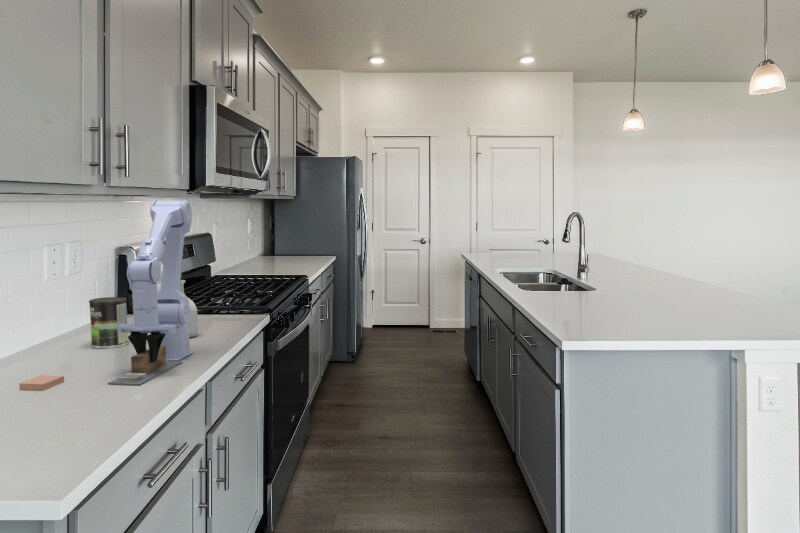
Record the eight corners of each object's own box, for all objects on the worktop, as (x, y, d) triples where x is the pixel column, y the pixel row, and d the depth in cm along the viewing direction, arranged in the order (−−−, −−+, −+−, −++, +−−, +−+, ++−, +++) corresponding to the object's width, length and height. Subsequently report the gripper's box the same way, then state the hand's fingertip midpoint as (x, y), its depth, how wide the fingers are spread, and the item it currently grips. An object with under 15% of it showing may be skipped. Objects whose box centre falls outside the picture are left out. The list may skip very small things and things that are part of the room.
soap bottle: (189, 332, 203) (186, 265, 201) (200, 337, 196) (197, 267, 194) (160, 336, 197) (156, 267, 195) (170, 341, 190) (167, 269, 188)
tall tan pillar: (152, 364, 160) (152, 345, 160) (170, 364, 159) (170, 346, 159) (116, 381, 144) (115, 361, 143) (136, 382, 143) (135, 361, 143)
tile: (41, 375, 146) (19, 383, 139) (63, 375, 145) (42, 384, 139) (41, 382, 146) (19, 391, 140) (64, 383, 146) (43, 392, 139)
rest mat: (154, 362, 164) (154, 360, 164) (182, 362, 163) (182, 361, 163) (107, 384, 143) (107, 382, 143) (139, 385, 142) (139, 383, 142)
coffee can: (101, 350, 178) (99, 303, 177) (85, 345, 185) (82, 300, 183) (135, 344, 186) (132, 298, 185) (118, 339, 193) (116, 295, 191)
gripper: (109, 310, 149) (112, 364, 150) (164, 311, 147) (167, 365, 148) (125, 305, 156) (128, 357, 157) (178, 306, 154) (181, 358, 155)
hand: (148, 361), depth 153 cm, fingers closed on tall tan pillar, 2 cm apart
